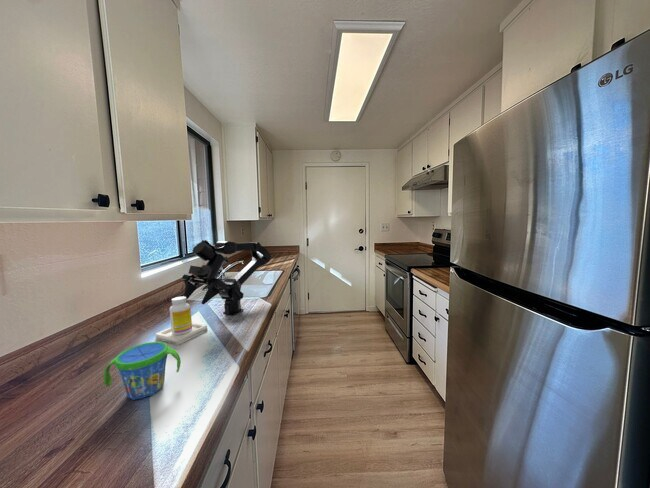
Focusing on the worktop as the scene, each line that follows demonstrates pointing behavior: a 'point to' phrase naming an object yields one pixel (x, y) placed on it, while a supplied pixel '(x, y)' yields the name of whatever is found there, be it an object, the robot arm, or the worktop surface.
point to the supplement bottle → (180, 316)
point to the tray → (178, 339)
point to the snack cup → (142, 368)
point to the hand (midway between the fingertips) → (193, 302)
